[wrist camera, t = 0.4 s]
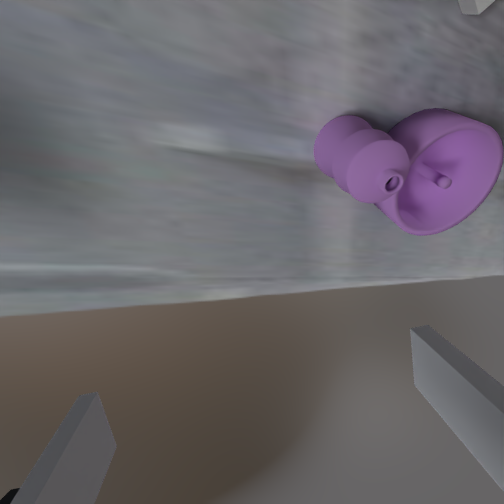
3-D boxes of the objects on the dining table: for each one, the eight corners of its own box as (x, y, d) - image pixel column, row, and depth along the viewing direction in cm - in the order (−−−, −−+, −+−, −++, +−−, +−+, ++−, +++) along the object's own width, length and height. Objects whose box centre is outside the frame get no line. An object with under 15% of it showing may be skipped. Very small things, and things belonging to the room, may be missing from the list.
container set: (487, 125, 48) (581, 160, 38) (426, 220, 56) (490, 271, 45) (337, 67, 39) (406, 91, 29) (287, 190, 47) (328, 244, 36)
